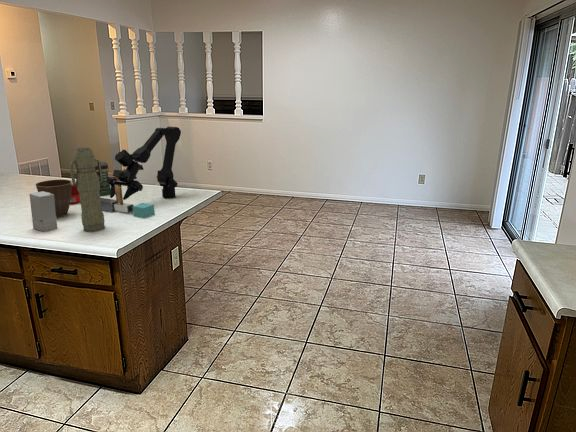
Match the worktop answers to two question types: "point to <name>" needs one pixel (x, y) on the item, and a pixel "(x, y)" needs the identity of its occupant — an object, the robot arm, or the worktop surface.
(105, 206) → the grey rectangular metal block
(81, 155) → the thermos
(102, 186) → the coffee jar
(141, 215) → the socket
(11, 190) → the worktop surface
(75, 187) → the canned food
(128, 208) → the bronze post on bar
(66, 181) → the plant pot
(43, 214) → the skincare box
